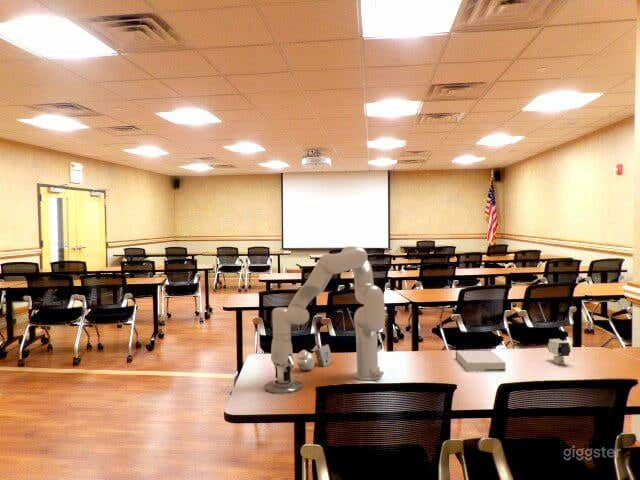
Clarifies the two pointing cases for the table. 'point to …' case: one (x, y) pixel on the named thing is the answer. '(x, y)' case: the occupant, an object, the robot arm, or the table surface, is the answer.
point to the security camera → (558, 349)
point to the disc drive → (480, 360)
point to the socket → (283, 386)
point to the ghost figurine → (305, 360)
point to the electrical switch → (324, 356)
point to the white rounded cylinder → (281, 374)
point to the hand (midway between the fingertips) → (283, 378)
